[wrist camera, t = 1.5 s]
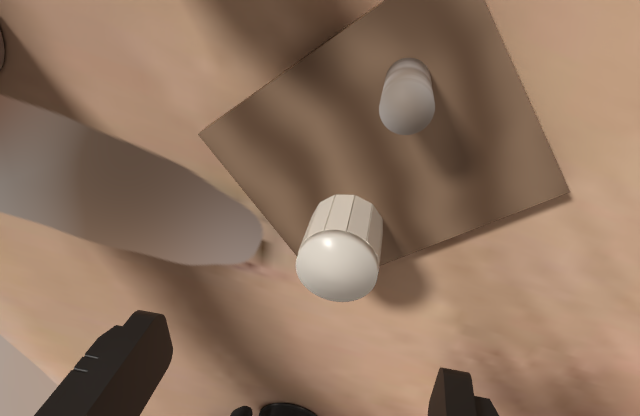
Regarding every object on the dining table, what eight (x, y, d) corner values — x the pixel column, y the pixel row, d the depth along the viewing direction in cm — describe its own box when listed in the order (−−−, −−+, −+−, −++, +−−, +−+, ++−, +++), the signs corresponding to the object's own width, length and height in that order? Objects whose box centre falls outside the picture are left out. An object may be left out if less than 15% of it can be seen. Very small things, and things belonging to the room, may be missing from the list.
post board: (325, 277, 40) (309, 337, 33) (205, 127, 33) (158, 166, 27) (563, 182, 30) (603, 241, 24) (457, -53, 24) (474, -56, 18)
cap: (337, 262, 36) (325, 310, 31) (298, 212, 34) (279, 256, 29) (395, 238, 34) (393, 286, 29) (358, 182, 32) (348, 225, 27)
